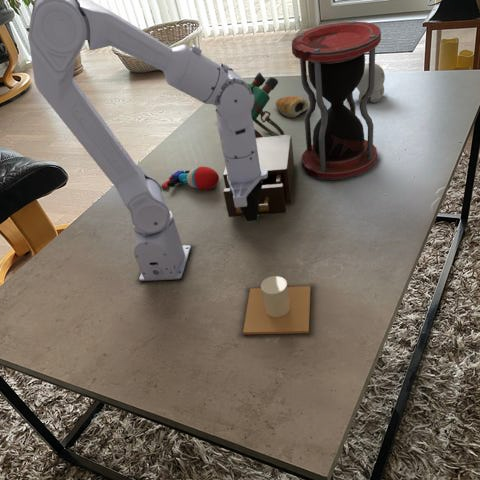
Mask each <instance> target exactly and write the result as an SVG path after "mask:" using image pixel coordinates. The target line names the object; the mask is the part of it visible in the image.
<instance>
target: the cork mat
mask: <svg viewBox="0 0 480 480" xmlns="http://www.w3.org/2000/svg"><path fill="white" fill-rule="evenodd" d="M287 287H288V294H289V302H290V310H289V312H288V313H287V314H286V315H284V316H281V317H271V316H269V315H268V314H267V313H266V312H265V307H264V302H263V296H262V291H261V287H260V288H259V287H255V288H254V287H253V288H251V287H250V289H249V294H248V301H247V306H246V310H245V311H246V313H245V317H244V325H243V330H242V334H243V335H283V334H284V335H289V334H310V316H311V315H310V314H311V290H312V289H311V286H310V285H305V286H287Z"/></svg>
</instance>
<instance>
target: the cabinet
mask: <svg viewBox="0 0 480 480" xmlns="http://www.w3.org/2000/svg"><path fill="white" fill-rule="evenodd" d="M279 135H280V136H273V135H272V136H263V137H261V138H256V144H257V151H258V157H259V164H260V168H261V169H262V170H265V169H266V170H267V171H268V174H278V173H283V175H284V184H285V192H284V195H285V204H292V203H291V202H292V195H293V194H292V193H293V184H294V175H295V159H294V149H293V138H292V134H285V135H281V134H279ZM227 175H228V174H227V169H226V166H225V168H224V170H223V174H222V177H223V180H224V181H223V182H224V186H225V188H229V183H228V180H227Z"/></svg>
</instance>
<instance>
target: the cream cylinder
mask: <svg viewBox="0 0 480 480" xmlns="http://www.w3.org/2000/svg"><path fill="white" fill-rule="evenodd" d="M288 287H289V286H288V281H287V280H286V278H285V277H282V276H279V275H273V276H269V277H266V278H265V279H264V280H262V282H261V284H260V288H261V291H262V296H263V302H264V307H265V312H266V313H267V314H268V315H269V316H271V317H281V316H284V315H286V314H287V313H288V312H289V310H290V302H289V294H288Z"/></svg>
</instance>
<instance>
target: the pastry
mask: <svg viewBox="0 0 480 480" xmlns="http://www.w3.org/2000/svg"><path fill="white" fill-rule="evenodd" d="M275 107H276V108H277V109H278V111H279V113H280V114H282V115H283V116H285V117H287V118H291V119H292V118H296V117H298V116H299V115H300V114H303V113H304V112H307V111H308V109H309V103H308V101H307V100H306V99H305V98H303V97H299V96H298V95H289V96H285V97H279V98H278V99H277V100H276V102H275Z"/></svg>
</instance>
